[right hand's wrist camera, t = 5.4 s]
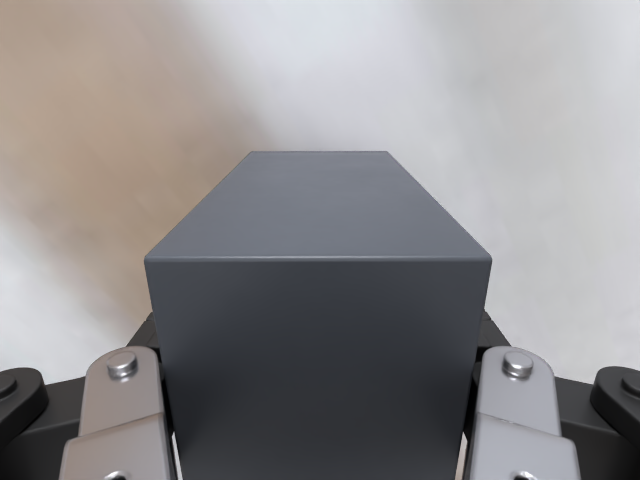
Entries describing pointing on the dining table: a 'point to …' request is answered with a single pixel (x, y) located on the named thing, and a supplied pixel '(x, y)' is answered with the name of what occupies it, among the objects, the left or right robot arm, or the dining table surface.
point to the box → (318, 322)
